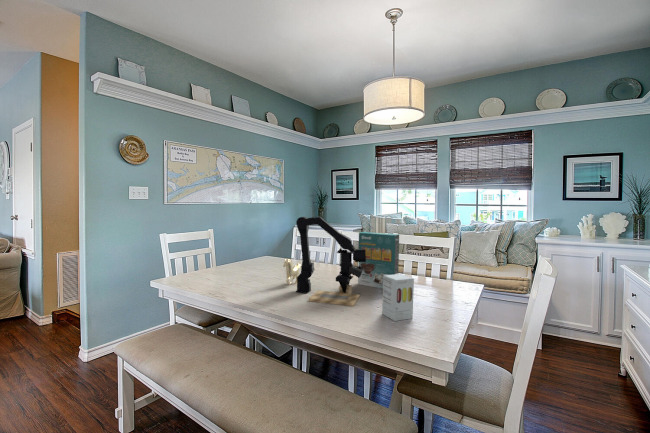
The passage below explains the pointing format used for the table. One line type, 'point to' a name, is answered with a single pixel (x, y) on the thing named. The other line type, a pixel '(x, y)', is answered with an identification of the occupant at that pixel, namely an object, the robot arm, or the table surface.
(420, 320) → the table surface
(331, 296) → the board
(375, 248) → the cake mix box
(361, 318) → the table surface
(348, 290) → the block
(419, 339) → the table surface
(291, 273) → the unicorn
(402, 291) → the supplement box
